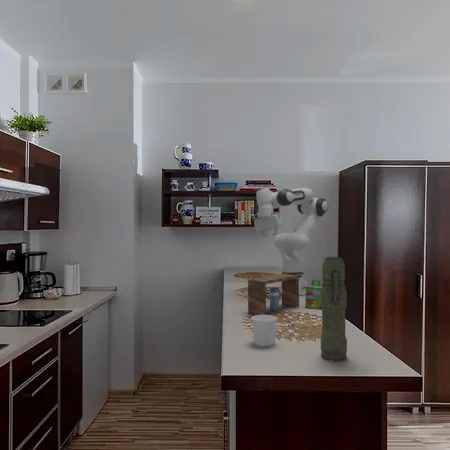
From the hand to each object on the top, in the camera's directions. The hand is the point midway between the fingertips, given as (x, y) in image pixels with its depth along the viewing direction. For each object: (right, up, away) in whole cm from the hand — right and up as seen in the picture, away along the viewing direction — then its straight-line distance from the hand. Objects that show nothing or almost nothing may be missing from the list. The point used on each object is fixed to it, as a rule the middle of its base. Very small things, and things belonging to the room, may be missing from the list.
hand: (269, 236), depth 234 cm
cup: (-11, -40, -81) cm, 91 cm away
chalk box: (+23, -38, -20) cm, 49 cm away
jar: (-1, -38, -27) cm, 47 cm away
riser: (-1, -38, -27) cm, 47 cm away
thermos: (+11, -40, -97) cm, 105 cm away
